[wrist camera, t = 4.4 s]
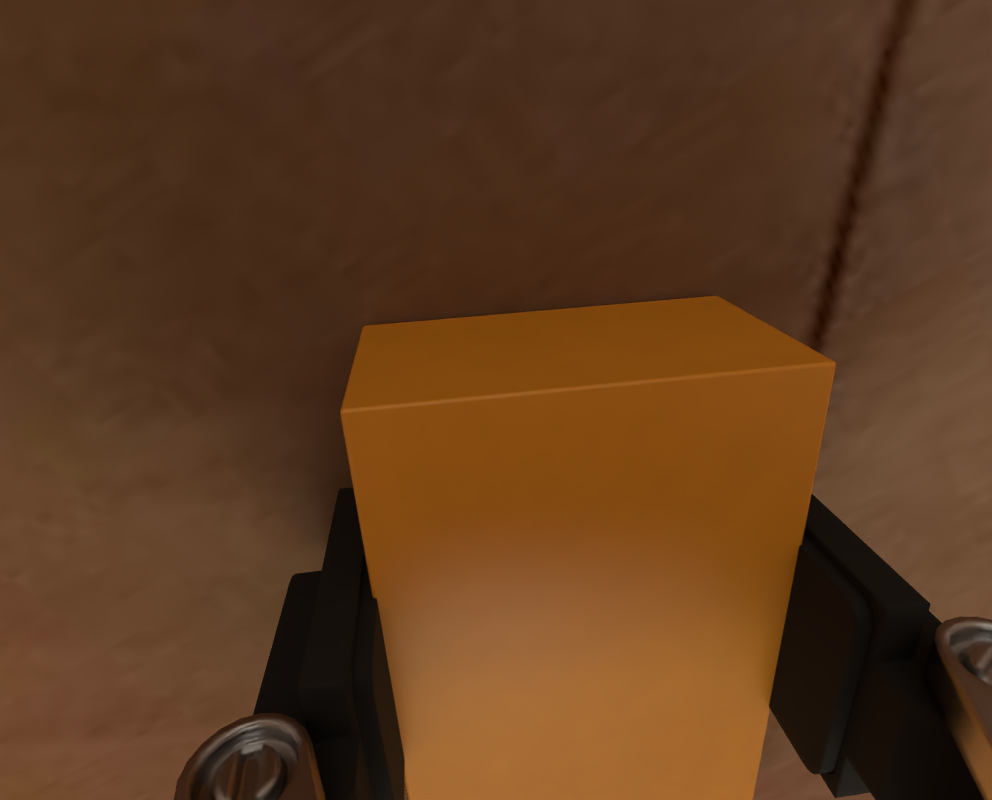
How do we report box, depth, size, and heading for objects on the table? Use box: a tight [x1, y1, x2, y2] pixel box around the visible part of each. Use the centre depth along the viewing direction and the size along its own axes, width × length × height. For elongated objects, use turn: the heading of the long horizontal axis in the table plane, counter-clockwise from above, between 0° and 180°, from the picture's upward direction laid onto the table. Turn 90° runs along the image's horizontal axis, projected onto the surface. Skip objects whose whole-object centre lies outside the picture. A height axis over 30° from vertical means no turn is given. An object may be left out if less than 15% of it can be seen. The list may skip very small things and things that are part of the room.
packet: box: [340, 296, 836, 800], centre depth 10 cm, size 8×6×3 cm
